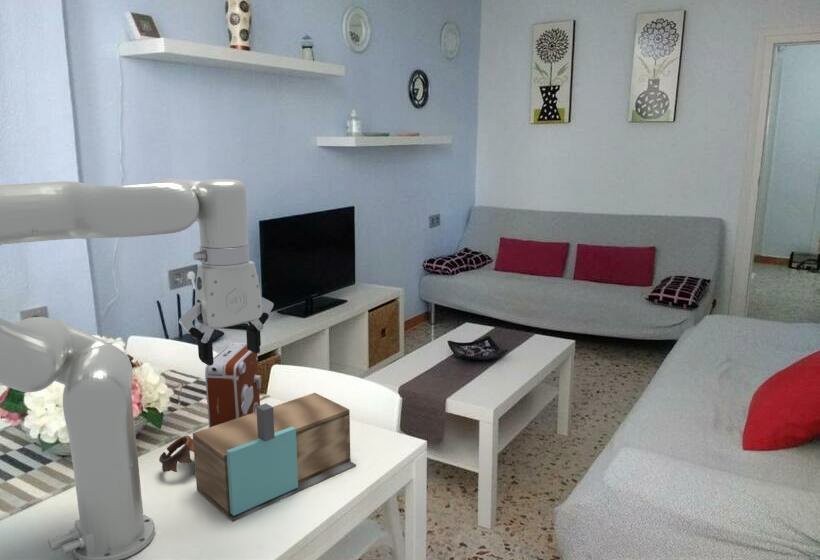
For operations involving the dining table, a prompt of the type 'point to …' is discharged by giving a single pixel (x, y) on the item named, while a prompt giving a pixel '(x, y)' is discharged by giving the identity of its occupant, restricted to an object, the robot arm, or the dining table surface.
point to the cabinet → (311, 416)
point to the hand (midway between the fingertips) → (231, 356)
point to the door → (262, 465)
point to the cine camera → (232, 384)
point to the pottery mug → (177, 454)
